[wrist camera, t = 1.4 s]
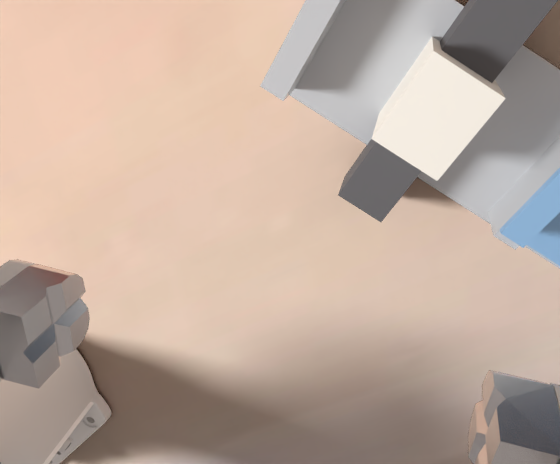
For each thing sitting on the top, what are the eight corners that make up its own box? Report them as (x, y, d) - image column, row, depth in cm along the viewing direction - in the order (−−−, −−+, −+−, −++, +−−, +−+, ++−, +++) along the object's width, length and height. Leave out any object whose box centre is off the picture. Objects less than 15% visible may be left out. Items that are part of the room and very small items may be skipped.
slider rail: (697, 351, 34) (732, 402, 30) (274, 79, 32) (253, 96, 28) (840, 255, 29) (904, 301, 25) (353, -68, 27) (342, -72, 24)
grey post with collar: (391, 205, 33) (385, 242, 29) (338, 172, 33) (325, 204, 29) (555, -2, 26) (581, 6, 22) (488, -47, 26) (502, -47, 21)
